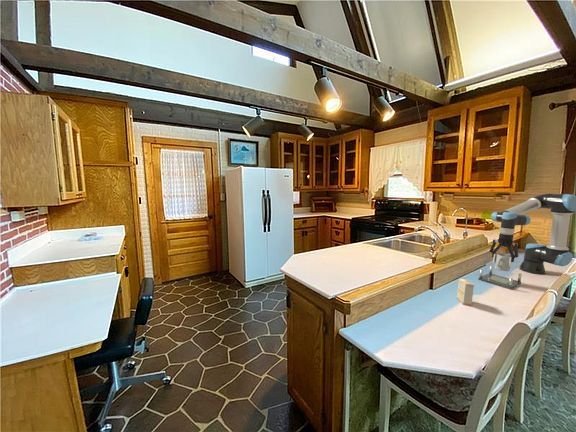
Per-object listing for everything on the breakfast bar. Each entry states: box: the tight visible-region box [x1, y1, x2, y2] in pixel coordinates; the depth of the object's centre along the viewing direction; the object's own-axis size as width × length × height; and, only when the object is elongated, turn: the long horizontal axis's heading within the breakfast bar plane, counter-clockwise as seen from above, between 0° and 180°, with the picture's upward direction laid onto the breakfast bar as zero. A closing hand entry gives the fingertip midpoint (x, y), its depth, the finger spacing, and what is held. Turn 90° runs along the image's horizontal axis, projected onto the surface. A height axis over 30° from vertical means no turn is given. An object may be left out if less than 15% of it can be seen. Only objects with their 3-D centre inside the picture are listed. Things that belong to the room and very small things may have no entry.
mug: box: [494, 252, 511, 272], centre depth 177 cm, size 12×8×11 cm
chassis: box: [477, 265, 523, 290], centre depth 179 cm, size 19×19×8 cm
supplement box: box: [456, 278, 475, 306], centre depth 148 cm, size 8×5×13 cm, turn 168°
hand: (501, 264), depth 177 cm, fingers closed on mug, 8 cm apart
